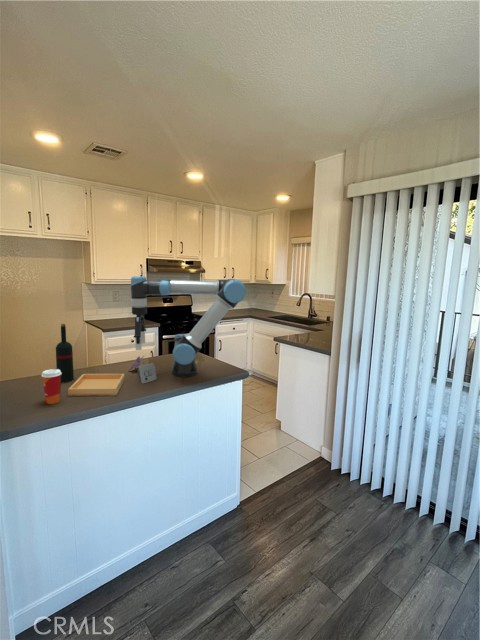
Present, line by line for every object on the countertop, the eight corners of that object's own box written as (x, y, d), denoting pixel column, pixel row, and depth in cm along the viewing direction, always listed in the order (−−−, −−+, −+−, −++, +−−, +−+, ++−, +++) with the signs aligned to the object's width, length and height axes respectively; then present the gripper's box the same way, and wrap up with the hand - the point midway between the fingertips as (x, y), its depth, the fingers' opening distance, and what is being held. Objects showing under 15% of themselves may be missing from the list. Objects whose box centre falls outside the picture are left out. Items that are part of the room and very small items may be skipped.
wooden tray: (124, 379, 172) (124, 373, 171) (115, 395, 151) (115, 388, 150) (83, 380, 168) (83, 373, 168) (68, 396, 148) (68, 389, 147)
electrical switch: (142, 384, 167) (141, 367, 166) (136, 382, 170) (135, 365, 169) (157, 380, 174) (156, 363, 173) (151, 378, 177) (150, 362, 176)
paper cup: (48, 397, 145) (46, 368, 143) (66, 398, 146) (64, 368, 144) (39, 405, 138) (37, 374, 135) (57, 405, 138) (56, 374, 136)
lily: (146, 368, 195) (138, 354, 194) (155, 365, 187) (147, 351, 186) (129, 378, 187) (121, 364, 186) (138, 376, 179) (129, 361, 178)
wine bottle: (70, 375, 174) (68, 321, 169) (75, 380, 167) (73, 324, 162) (54, 377, 169) (51, 322, 164) (58, 383, 162) (56, 325, 157)
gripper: (135, 303, 176) (137, 340, 180) (127, 309, 152) (128, 352, 155) (149, 303, 177) (150, 340, 181) (143, 309, 153) (144, 352, 157)
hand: (140, 346), depth 168 cm, fingers open, 13 cm apart
